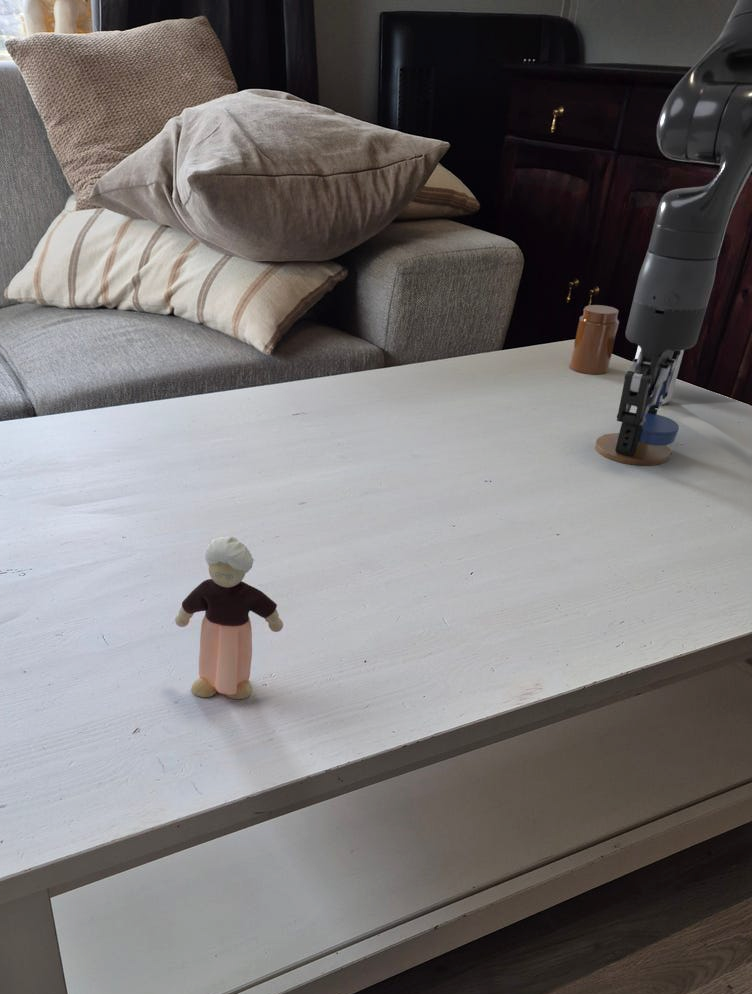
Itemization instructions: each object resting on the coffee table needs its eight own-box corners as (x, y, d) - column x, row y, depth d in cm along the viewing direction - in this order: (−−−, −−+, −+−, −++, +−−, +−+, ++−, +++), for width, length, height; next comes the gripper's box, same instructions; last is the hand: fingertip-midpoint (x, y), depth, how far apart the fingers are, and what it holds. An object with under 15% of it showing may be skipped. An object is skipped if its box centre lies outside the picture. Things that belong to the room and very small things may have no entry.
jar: (586, 360, 137) (598, 302, 133) (615, 370, 134) (629, 311, 129) (561, 366, 135) (573, 307, 130) (591, 376, 131) (604, 316, 126)
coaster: (645, 435, 113) (647, 431, 113) (683, 463, 106) (685, 458, 106) (582, 439, 111) (583, 434, 111) (616, 467, 105) (617, 462, 104)
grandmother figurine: (178, 706, 67) (171, 553, 60) (177, 674, 70) (171, 526, 63) (282, 701, 68) (288, 550, 61) (277, 671, 71) (282, 523, 64)
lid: (672, 449, 104) (677, 436, 103) (619, 438, 105) (623, 425, 105) (676, 432, 108) (680, 419, 107) (625, 421, 110) (629, 408, 109)
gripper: (653, 279, 106) (618, 421, 115) (616, 305, 96) (581, 457, 105) (722, 290, 102) (680, 435, 112) (690, 318, 92) (647, 474, 102)
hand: (632, 445), depth 108 cm, fingers closed on lid, 5 cm apart
